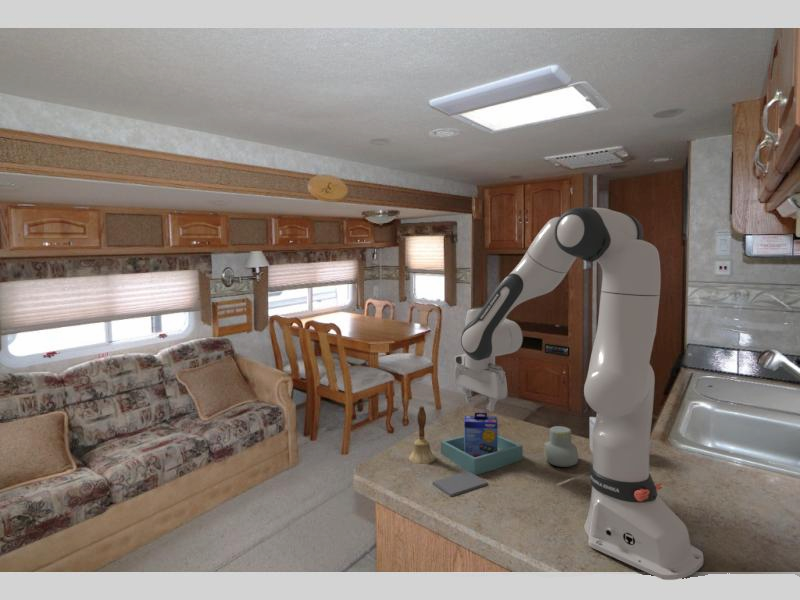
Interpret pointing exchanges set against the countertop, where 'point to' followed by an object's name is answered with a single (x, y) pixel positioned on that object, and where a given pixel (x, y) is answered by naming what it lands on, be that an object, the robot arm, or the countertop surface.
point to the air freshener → (560, 448)
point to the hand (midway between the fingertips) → (479, 406)
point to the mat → (459, 483)
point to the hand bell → (421, 443)
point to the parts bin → (486, 462)
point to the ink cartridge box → (480, 434)
